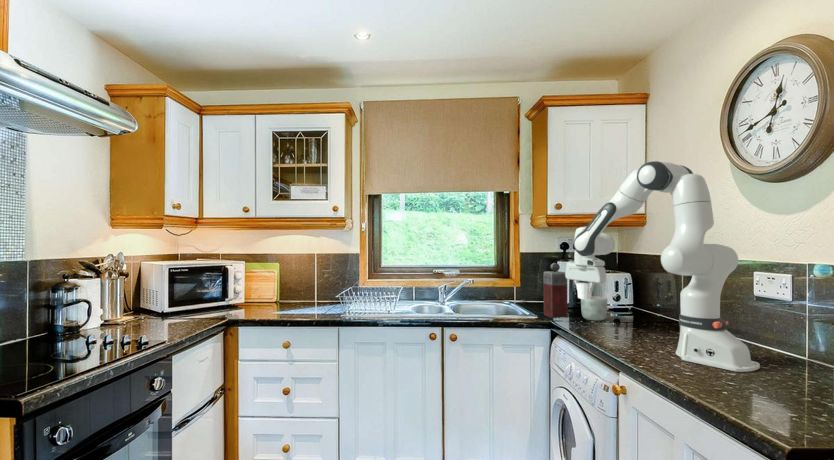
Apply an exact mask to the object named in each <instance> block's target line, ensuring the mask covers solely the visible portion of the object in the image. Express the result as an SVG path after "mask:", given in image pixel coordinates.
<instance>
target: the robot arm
mask: <svg viewBox="0 0 834 460" xmlns="http://www.w3.org/2000/svg"><path fill="white" fill-rule="evenodd" d="M654 191H656V192H660V193H669V194H670V195H671V198H672V207H673V215H674V231H673V232H674V233H673V236H672V239H671V241H670V243H669V244H668V245H667V246H666V247H664V249H663V250H662V252H661V255H660V264H661V266H662V268H663V269H664V270H665V271H666V272H667V273H669V274H673V275H677V276H678V275H679V276H685V277H686V276H690V277H691V280H690V281H689V283H688V285H687V286H685V287H684V288H683V289H682V290H681V291H680V294H679V296H680V299H679V300H680V304H679V305H680V313H679V314H678V325H679V326H678V327H679V339H678V343H677V347H676V350H675V355H676V356H678V357H680V359H681V360H682V361H685V362H690V363H695V364H700V365H703V366H708V367H713V368H718V369H723V370H728V371H731V372H741V373H743V372H746V373H748V372H754V371H757V370H759V369H760V368H761V365H760V363H759V362H757V361H755V360H752V359H751V358H752V357H751V353H750V352H751V351H750V350H749V347H748V346H747V345H746V344H745V343H744V342H742V341H741V340H740V339H738V338H737V337H736V336H735V335H733V333H732V332H730V331H728V330H727V325H730V324H729V322H730V321H728V320H727V321H725V320H724V319H723V318H722V317H721V295H722V291H723V290H722V289H723V287H724V284H725V282H726V281H727V279H728V277H729V275H730V274H732V273H733V272H734V271H735V269H736V268H737V267H738V265H739V256H738V254H737V252H736V250H734V249H733V248H732V247H730V246H726V245H725V244H718V243H705V242H704V240H705V236H706V233H707V232H708V231H709V230H711V229H712V228H713V226H714V223H715V220H714V213H713V206H712V198H711V195H710V191H709V187H708V185H707V182H706V179H705V177H703V176H702V175H700V174H698V173H694V172H693V170H691V169H690V168H689V167H687V166H685V165H679V164H675V163H672V162H668V161H667V162H666V161H659V160H655V161H649V162H646V163H644V164H641V166H640V167H639V168H636V169H634V170H633V171H631V172H630V174H628V176H627V177H625V179H624V180H623V182H622V183H621V185H620V186H619V188H618V189H617V191H616V192H615V193H614V195H613V196H612V198H610V200H609V201H607V203H605V204H604V205H603V206H602V207H601V208H600V209H599V210H598V211H597V213H596V214H595V215H594V217H593V218H591V220H590V221H589V223H588V224H587V225H584V226H579V227H577V228H576V229H575V232H574V241H573V248H574V255H573V256H574V257H573V258H574V260H573V259H570V260H568V261H567V262H566V267H565V272H566V273H565V277H566V279H567V280H572V281H574V284H575V286H576V287H575V288H576V290H577V283H580V282H586V283H589V284H591V285H590V287H589V292H592V293H593V292H594V288H595V286H596V284H597V283H598V284H604V283H605V282H606V281H607V277H606V275H607V273H606V272H607V271H606V267H604V266H606V263H605V261H604V260H602V259H600V258H597V257H596V256H601V255H603V256H605V255H609V254H611V253H612V252H614V251H613V250H614V249H615V240H614V238H613V237H612V235H610V234H608V233H605V232H604V230H606V228H607V226H608V225H609V224H611V223H612V222H613V221H615V220H618V219H621V218H624V217H628V216H632V215H634V214H636V213H637V212H638V211H640V209H641V208H642V207H643V205H644V204H645V202H646V201H647V199H648V198H649V196H650V195H651V194H652V192H654Z"/></svg>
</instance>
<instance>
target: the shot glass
mask: <svg viewBox="0 0 834 460" xmlns="http://www.w3.org/2000/svg"><path fill="white" fill-rule="evenodd" d="M590 285H591V284H589V282H585V281H580V282H579V283H577V289H576V290H577V298H578V299H580V300H581V299H591V296H593V295H592V293H593V292H589V287H590Z"/></svg>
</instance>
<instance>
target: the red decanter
mask: <svg viewBox="0 0 834 460" xmlns="http://www.w3.org/2000/svg"><path fill="white" fill-rule="evenodd" d="M560 268H561V266H560V264H559V263H556V262H553V263H551V264H550V270H551V271H549V270H548V271H547V270H546V271H543V316H546V317H548V318H551V319H556V318H557V317H558V318H557V319H559V318H560V317H565V318H568V279H566V277H565V273H566V271H565V272H564V271H559V270H560Z"/></svg>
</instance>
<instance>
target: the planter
mask: <svg viewBox="0 0 834 460" xmlns="http://www.w3.org/2000/svg"><path fill="white" fill-rule="evenodd" d="M580 307H581V308H580V310H581V315H582V317H583V319H585V320H588V321H595V322H596V321H597V322H599V321H600V322H602V321H604V320H605V319H606V318H607V316H608V298H607V297H603V296H594V295H591V299H580Z"/></svg>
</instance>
